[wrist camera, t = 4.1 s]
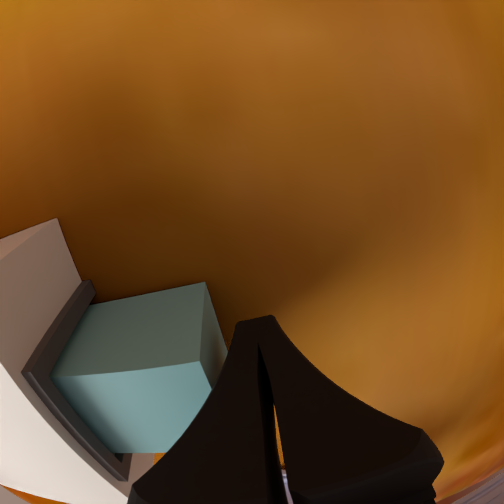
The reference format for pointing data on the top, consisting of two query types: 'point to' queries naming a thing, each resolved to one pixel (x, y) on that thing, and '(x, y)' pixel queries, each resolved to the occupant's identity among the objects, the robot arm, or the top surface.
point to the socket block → (40, 385)
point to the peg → (142, 367)
